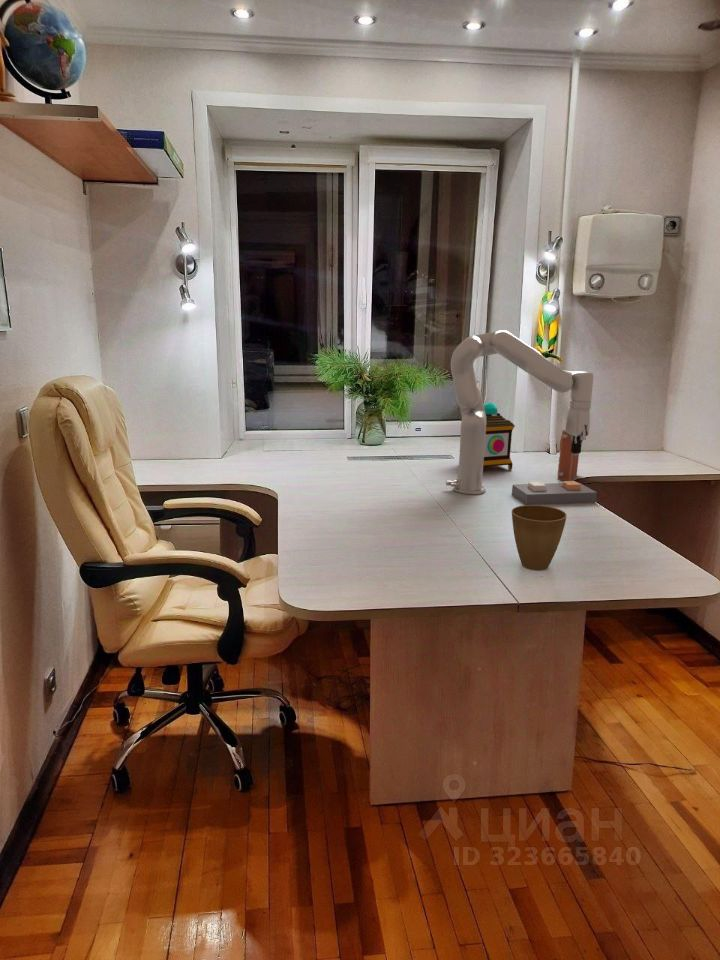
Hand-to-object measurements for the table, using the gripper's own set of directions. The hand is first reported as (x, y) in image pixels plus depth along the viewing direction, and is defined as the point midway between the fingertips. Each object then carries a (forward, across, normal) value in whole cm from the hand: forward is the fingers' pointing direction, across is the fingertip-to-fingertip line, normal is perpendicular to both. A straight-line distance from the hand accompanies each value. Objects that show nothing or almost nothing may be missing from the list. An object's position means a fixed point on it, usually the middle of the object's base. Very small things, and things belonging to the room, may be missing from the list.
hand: (575, 452), depth 250 cm
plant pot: (+18, +63, -44) cm, 79 cm away
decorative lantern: (+18, -50, -17) cm, 56 cm away
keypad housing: (+18, 0, -8) cm, 19 cm away
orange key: (+15, 0, -1) cm, 15 cm away
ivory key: (+15, 0, -15) cm, 21 cm away
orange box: (+18, -30, +13) cm, 38 cm away
